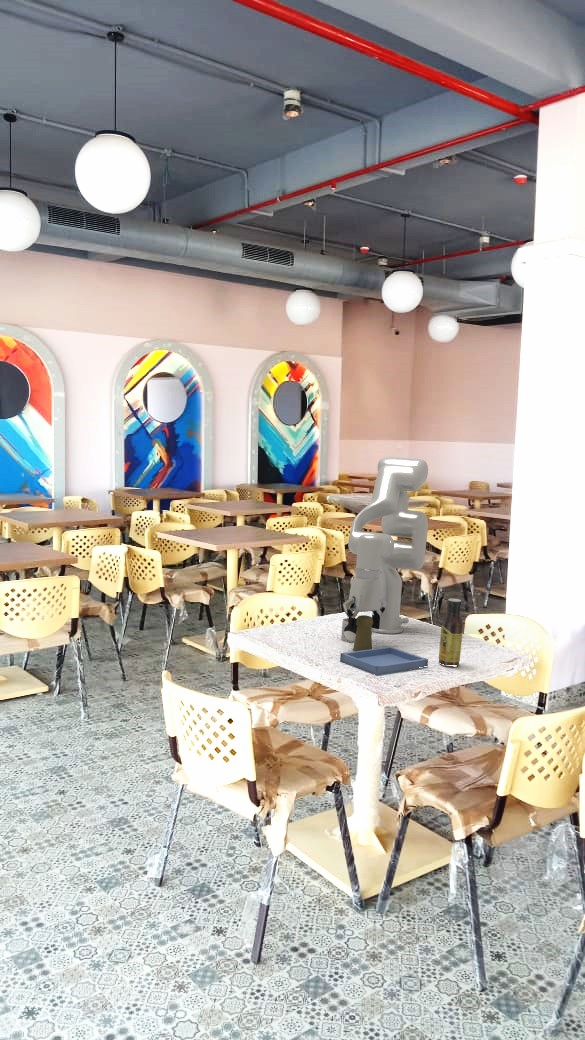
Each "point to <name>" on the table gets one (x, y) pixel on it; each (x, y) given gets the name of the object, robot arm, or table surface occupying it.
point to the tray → (383, 660)
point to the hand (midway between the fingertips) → (363, 629)
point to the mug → (348, 632)
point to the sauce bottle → (451, 634)
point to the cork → (363, 633)
